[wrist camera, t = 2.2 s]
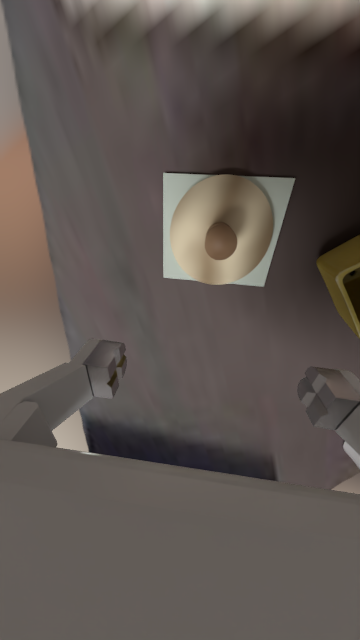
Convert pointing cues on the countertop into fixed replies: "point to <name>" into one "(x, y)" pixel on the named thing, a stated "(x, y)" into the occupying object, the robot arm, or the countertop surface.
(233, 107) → the countertop surface
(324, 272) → the flower pot
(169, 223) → the mat
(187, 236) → the lid
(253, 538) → the robot arm
